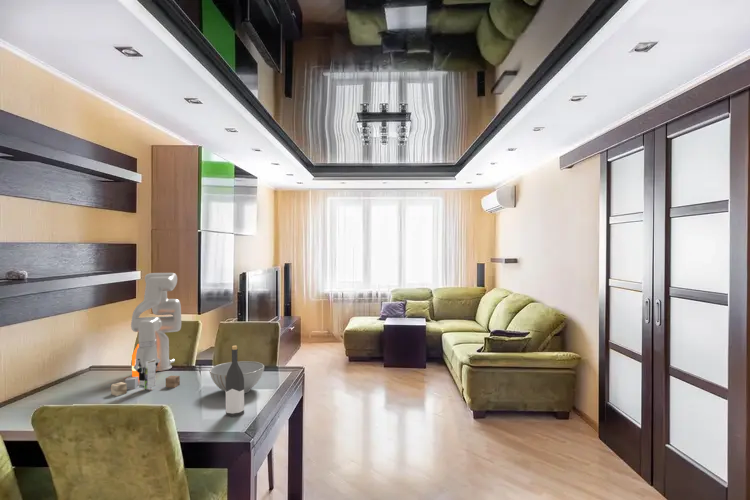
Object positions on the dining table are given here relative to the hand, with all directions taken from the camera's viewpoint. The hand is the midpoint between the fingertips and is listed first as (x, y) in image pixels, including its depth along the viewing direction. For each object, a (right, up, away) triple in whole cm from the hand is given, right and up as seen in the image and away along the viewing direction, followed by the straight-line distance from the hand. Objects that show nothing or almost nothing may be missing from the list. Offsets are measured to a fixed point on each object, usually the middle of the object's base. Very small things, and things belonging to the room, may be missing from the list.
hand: (147, 378), depth 232 cm
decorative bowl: (+48, -6, -3) cm, 48 cm away
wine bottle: (+56, -6, -34) cm, 66 cm away
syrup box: (0, -5, 0) cm, 5 cm away
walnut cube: (+10, -6, +6) cm, 14 cm away
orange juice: (-11, -6, +18) cm, 22 cm away
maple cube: (-11, -6, -6) cm, 14 cm away
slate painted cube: (-11, -6, +5) cm, 13 cm away
